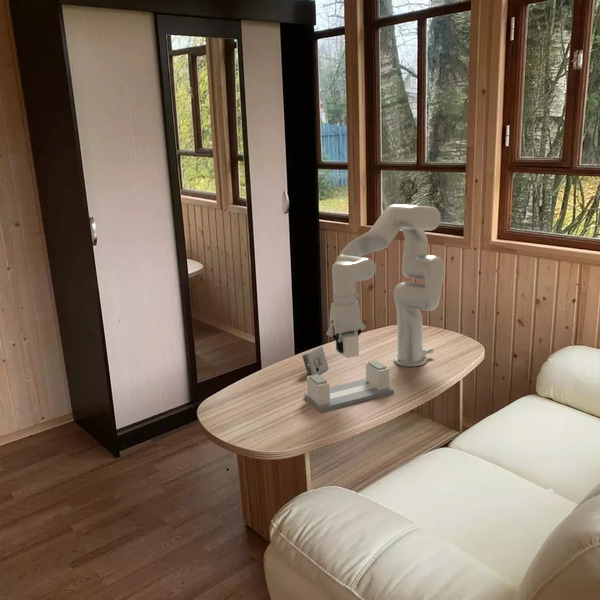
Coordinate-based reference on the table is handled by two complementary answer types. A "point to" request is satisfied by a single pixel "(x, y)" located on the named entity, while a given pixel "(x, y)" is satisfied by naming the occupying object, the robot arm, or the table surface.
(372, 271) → the robot arm
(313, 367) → the electrical switch
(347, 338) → the block
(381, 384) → the mounted modules
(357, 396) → the rail board
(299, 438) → the table surface
